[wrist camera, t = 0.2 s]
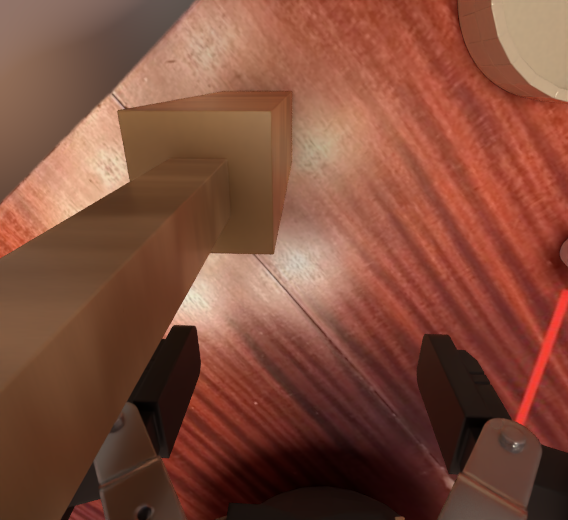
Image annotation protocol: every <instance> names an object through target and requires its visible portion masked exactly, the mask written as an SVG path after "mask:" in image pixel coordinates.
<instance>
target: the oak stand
mask: <svg viewBox="0 0 568 520" xmlns="http://www.w3.org/2000/svg"><path fill="white" fill-rule="evenodd" d="M117 113H118V118H119V124H120V129H121V135H122V140H123V146H124V152H125V157H126V163H127V168H128V174H129V179H130V181H132V180H134V179H136V178H137V177H139V176H141V175H142V174H144V173H146V172H147V171H149V170H151V169H152V168H154V167H156V166H157V165H159V164H161V163H163V162H164V161H166V160H168V159H227V163H228V178H229V193H230V208H231V216H230V218H229V220H228V222H227V223H226V225H225V227H224V229H223V230H222V232H221V234H220V236H219V238H218V239H217V241H216V243H215V245H214V247H213V248H212V250H211V252H210V253H232V254H274V251H275V245H276V240H277V235H278V230H279V225H280V220H281V215H282V210H283V205H284V200H285V195H286V190H287V185H288V180H289V175H290V170H291V165H292V91H222V92H216V93H211V94H205V95H200V96H194V97H189V98H183V99H178V100H172V101H167V102H161V103H156V104H150V105H145V106H139V107H134V108H128V109H123V110H118V111H117Z"/></svg>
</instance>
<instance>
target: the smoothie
mask: <svg viewBox="0 0 568 520" xmlns="http://www.w3.org/2000/svg"><path fill="white" fill-rule="evenodd" d="M560 258H561V260H562V261H563V262H564V263H565V264H566V266H567V267H568V239H567V240H566V241H565V242H564V243H563V245H562V247H561V249H560Z"/></svg>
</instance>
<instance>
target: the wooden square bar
mask: <svg viewBox="0 0 568 520" xmlns="http://www.w3.org/2000/svg"><path fill="white" fill-rule="evenodd" d="M230 216H231V208H230V193H229V178H228V163H227V159H168V160H166V161H164V162H163V163H161V164H159V165H157V166H156V167H154V168H152V169H151V170H149V171H147V172H146V173H144V174H142V175H141V176H139V177H137V178H136V179H134V180H132V181H130V182H129V183H127V184H125V185H124V186H122V187H120V188H119V189H117V190H115V191H114V192H112V193H110V194H108V195H107V196H105V197H103V198H102V199H100V200H98V201H97V202H95V203H93V204H92V205H90V206H88V207H87V208H85V209H83V210H81V211H80V212H78V213H76V214H75V215H73V216H71V217H70V218H68V219H66V220H65V221H63V222H61V223H60V224H58V225H56V226H54V227H53V228H51V229H49V230H48V231H46V232H44V233H43V234H41V235H39V236H38V237H36V238H34V239H33V240H31V241H29V242H27V243H26V244H24V245H22V246H21V247H19V248H17V249H16V250H14V251H12V252H11V253H9V254H7V255H5V256H4V257H2V258H0V520H61V518H62V516H63V515H64V513H65V511H66V509H67V507H68V506H69V504H70V502H71V500H72V498H73V497H74V495H75V493H76V491H77V490H78V488H79V486H80V484H81V482H82V481H83V479H84V477H85V475H86V473H87V472H88V470H89V468H90V466H91V465H92V463H93V461H94V459H95V457H96V456H97V454H98V452H99V450H100V448H101V447H102V445H103V443H104V441H105V440H106V438H107V436H108V434H109V432H110V431H111V429H112V427H113V425H114V423H115V422H116V420H117V418H118V416H119V414H120V413H121V411H122V409H123V407H124V406H125V404H126V402H127V400H128V398H129V397H130V395H131V393H132V391H133V389H134V388H135V386H136V384H137V382H138V381H139V379H140V377H141V375H142V373H143V372H144V370H145V368H146V366H147V364H148V363H149V361H150V359H151V357H152V356H153V354H154V352H155V350H156V348H157V347H158V345H159V343H160V341H161V339H162V338H163V336H164V334H165V332H166V331H167V329H168V327H169V325H170V323H171V322H172V320H173V318H174V316H175V314H176V313H177V311H178V309H179V307H180V306H181V304H182V302H183V300H184V298H185V297H186V295H187V293H188V291H189V289H190V288H191V286H192V284H193V282H194V280H195V279H196V277H197V275H198V273H199V272H200V270H201V268H202V266H203V264H204V263H205V261H206V259H207V257H208V255H209V254H210V252H211V250H212V248H213V247H214V245H215V243H216V241H217V239H218V238H219V236H220V234H221V232H222V230H223V229H224V227H225V225H226V223H227V222H228V220H229V218H230Z"/></svg>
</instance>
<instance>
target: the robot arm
mask: <svg viewBox="0 0 568 520" xmlns="http://www.w3.org/2000/svg"><path fill="white" fill-rule="evenodd" d="M200 366H201V360H200V351H199V344H198V336H197V329H196V327H195V326H185V325H174V326H173V327H172V328H171V330H170V332H169V334H168V336H167V338H166V339H161V341H160V343H159V345H158V347H157V348H156V350H155V352H154V354H153V356H152V357H151V359H150V361H149V363H148V364H147V366H146V368H145V370H144V372H143V373H142V375H141V377H140V379H139V381H138V382H137V384H136V386H135V388H134V389H133V391H132V393H131V395H130V397H129V398H128V400H127V402H126V404H125V406H124V407H123V409H122V411H121V413H120V414H119V416H118V418H117V420H116V422H115V423H114V425H113V427H112V429H111V431H110V432H109V434H108V436H107V438H106V440H105V441H104V443H103V445H102V447H101V448H100V450H99V452H98V454H97V456H96V457H95V459H94V461H93V463H92V465H91V466H90V468H89V470H88V472H87V473H86V475H85V477H84V479H83V481H82V482H81V484H80V486H79V488H78V490H77V491H76V493H75V495H74V497H73V498H72V500H71V502H70V504H69V506H68V507H67V509H66V511H65V513H64V515H63V516H62V518H61V520H68V519H69V517H70V515H71V513H72V511H73V509H74V507H75V505H79V504H83V503H87V502H90V501H94V500H98V499H101V502H102V506H103V510H104V515H105V519H106V520H187V518H186V516H185V513H184V511H183V508H182V506H181V504H180V501H179V499H178V497H177V494H176V492H175V489H174V487H173V485H172V482H171V480H170V478H169V475H168V473H167V470H166V468H165V466H164V463H163V461H162V459H161V458H169V457H170V454H171V451H172V449H173V446H174V443H175V440H176V438H177V435H178V432H179V430H180V427H181V424H182V421H183V419H184V416H185V413H186V410H187V408H188V405H189V402H190V399H191V397H192V394H193V391H194V389H195V386H196V383H197V380H198V377H199V374H200ZM417 383H418V387H419V390H420V393H421V396H422V398H423V401H424V404H425V407H426V410H427V413H428V416H429V418H430V421H431V424H432V427H433V430H434V433H435V436H436V438H437V441H438V444H439V447H440V450H441V453H442V456H443V458H444V461H445V464H446V467H447V470H448V473H449V474H459V475H458V477H457V479H456V481H455V483H454V485H453V487H452V489H451V491H450V494H449V496H448V498H447V500H446V502H445V504H444V506H443V508H442V510H441V513H440V515H439V517H438V519H437V520H568V453H567V452H563V451H560V450H557V449H553V448H550V447H547V446H544V445H542V444H541V443H540V442H539V440H538V439H537V437H536V436H535V435H534V434H533V433H532V432H531V431H530V430H529V429H527V428H526V427H524V426H523V425H521V424H519V423H517V422H515V421H512V419H511V417H510V416H509V414H508V412H507V410H506V409H505V407H504V405H503V404H502V402H501V400H500V399H499V397H498V395H497V393H496V392H495V390H494V388H493V387H492V385H490V382H489V380H488V378H487V376H486V375H484V371H483V370H482V368H481V366H480V365H479V363H478V361H477V360H476V359H475V358H473V357H472V356H471V355H470V354H469V353H468V352H466V351H465V350H457V349H456V347H455V345H454V343H453V342H452V340H451V338H450V336H449V335H442V334H425V335H424V337H423V340H422V345H421V351H420V356H419V361H418V366H417ZM215 520H386V518H385V512H379V511H362V510H341V511H337V512H332V513H328V514H323V515H319V516H314V517H309V518H304V517H301V516H298V515H295V514H292V513H289V512H286V511H283V510H280V509H277V508H274V507H271V506H268V505H259V504H242V503H229V507H228V512H227V516H225V517H221V518H218V519H215Z"/></svg>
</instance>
